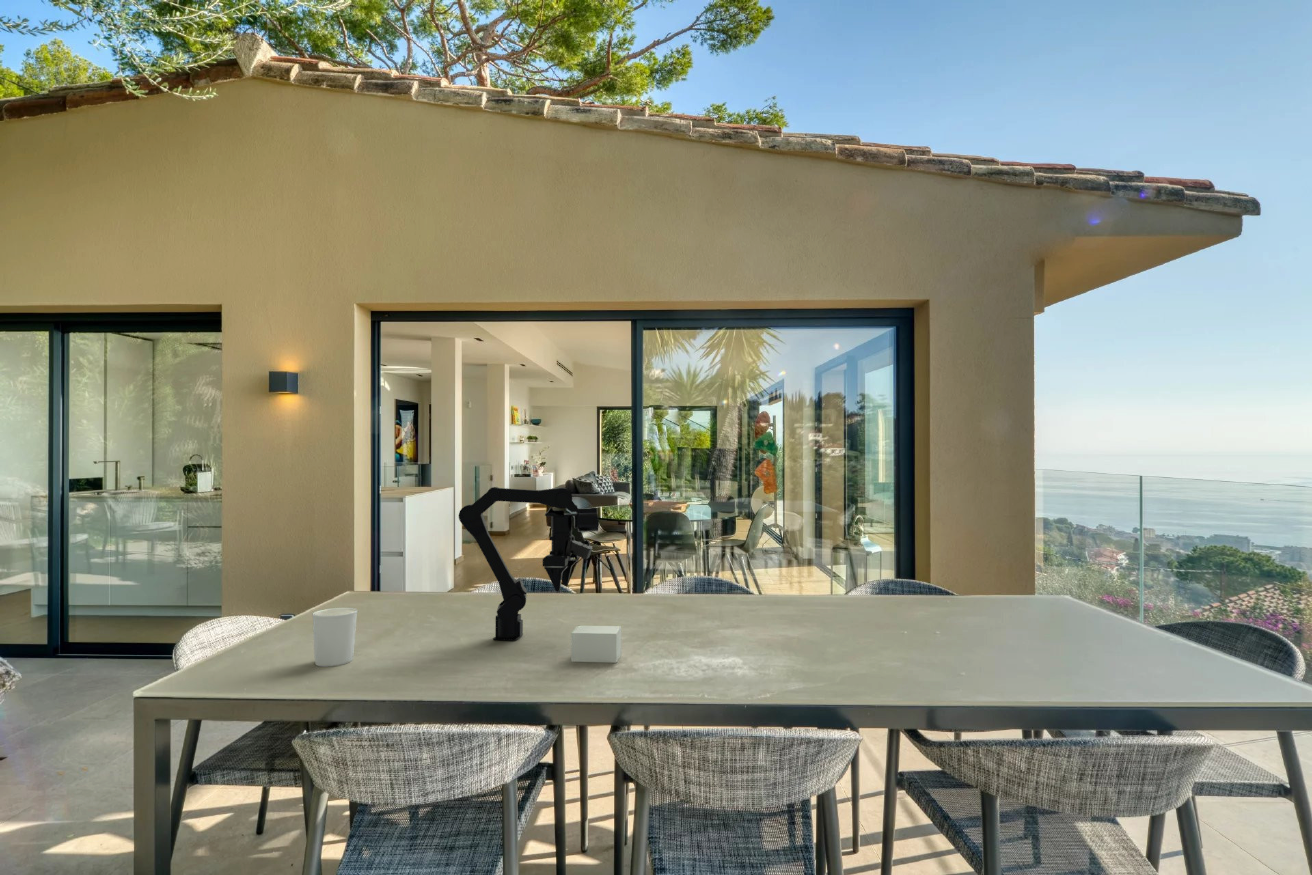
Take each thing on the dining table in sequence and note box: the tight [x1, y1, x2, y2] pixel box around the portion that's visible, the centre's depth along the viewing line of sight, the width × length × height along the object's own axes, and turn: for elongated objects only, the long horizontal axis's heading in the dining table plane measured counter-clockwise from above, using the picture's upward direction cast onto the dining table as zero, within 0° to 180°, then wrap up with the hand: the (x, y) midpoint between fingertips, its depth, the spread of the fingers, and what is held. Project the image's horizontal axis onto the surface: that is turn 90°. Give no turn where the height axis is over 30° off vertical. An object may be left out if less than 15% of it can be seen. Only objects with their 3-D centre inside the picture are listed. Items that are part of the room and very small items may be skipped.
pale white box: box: [570, 625, 622, 664], centre depth 159 cm, size 11×8×7 cm
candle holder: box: [312, 607, 358, 668], centre depth 157 cm, size 10×10×12 cm
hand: (561, 588), depth 181 cm, fingers open, 9 cm apart
